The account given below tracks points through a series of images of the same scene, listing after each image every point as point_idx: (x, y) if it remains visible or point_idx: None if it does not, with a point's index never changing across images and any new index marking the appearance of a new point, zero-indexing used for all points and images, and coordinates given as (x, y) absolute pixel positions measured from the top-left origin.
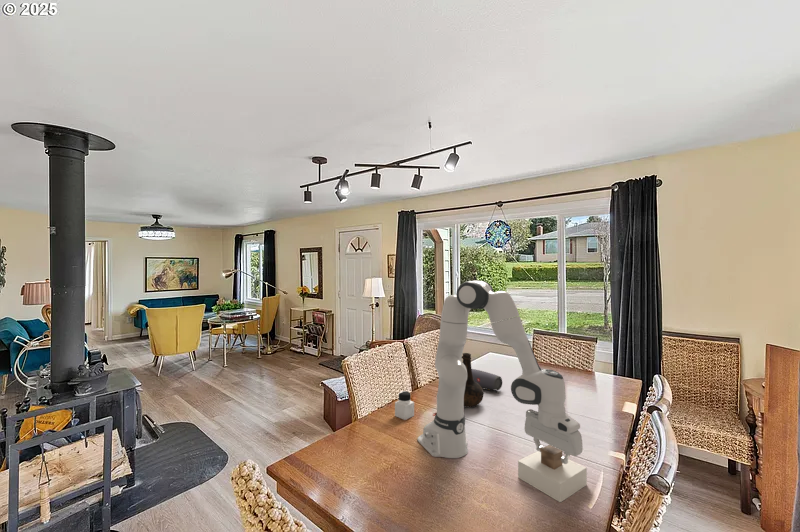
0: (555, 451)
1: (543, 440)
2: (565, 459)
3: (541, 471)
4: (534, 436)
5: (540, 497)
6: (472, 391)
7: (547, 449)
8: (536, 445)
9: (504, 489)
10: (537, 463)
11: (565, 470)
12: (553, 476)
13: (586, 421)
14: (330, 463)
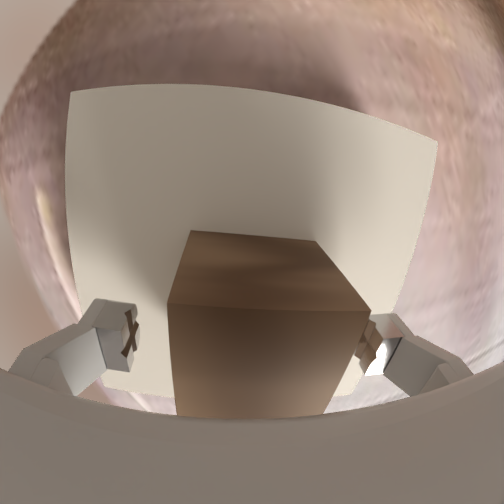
0: (211, 381)
1: (395, 420)
2: (73, 325)
3: (252, 116)
4: (487, 382)
5: (211, 58)
6: None
7: (302, 355)
8: (415, 337)
9: (365, 11)
10: (333, 210)
11: (134, 287)
12: (143, 129)
13: None
14: None
